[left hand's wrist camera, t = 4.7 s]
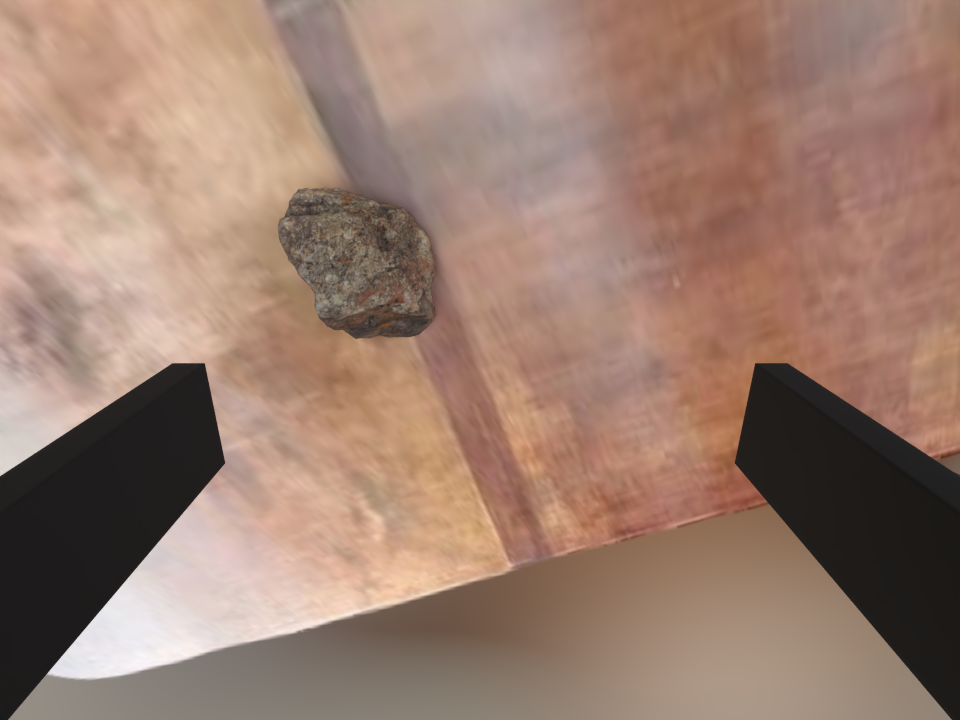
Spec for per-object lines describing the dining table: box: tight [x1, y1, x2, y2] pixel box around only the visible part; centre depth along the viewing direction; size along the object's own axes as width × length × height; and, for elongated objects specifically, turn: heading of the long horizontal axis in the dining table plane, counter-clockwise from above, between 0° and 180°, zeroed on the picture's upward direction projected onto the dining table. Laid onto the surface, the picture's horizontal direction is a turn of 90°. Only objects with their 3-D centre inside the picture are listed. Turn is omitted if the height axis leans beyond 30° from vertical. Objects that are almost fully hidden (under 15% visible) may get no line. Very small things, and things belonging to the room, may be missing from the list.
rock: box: [278, 188, 436, 339], centre depth 42 cm, size 14×9×10 cm
